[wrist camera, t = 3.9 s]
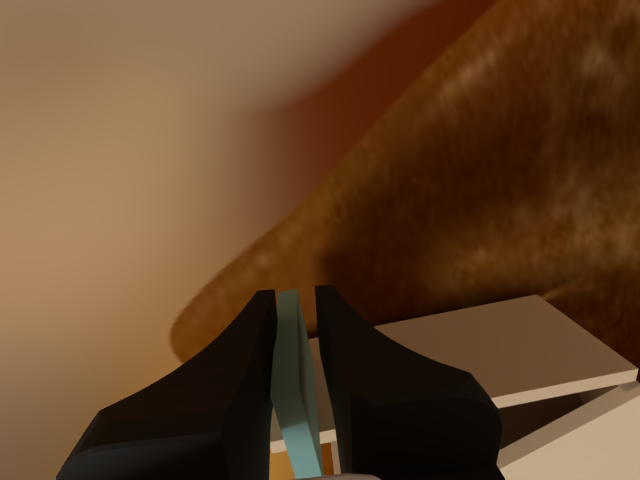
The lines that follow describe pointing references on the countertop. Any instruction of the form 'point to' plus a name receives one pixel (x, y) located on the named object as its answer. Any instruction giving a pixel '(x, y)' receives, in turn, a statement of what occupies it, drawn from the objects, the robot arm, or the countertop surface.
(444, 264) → the countertop surface
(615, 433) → the carton
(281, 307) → the flap
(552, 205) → the countertop surface
